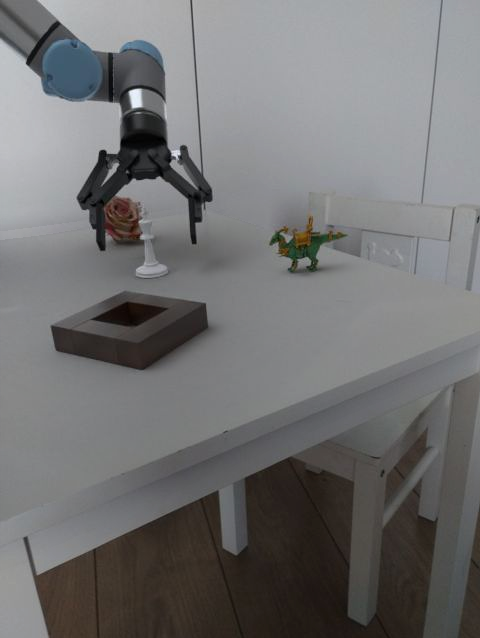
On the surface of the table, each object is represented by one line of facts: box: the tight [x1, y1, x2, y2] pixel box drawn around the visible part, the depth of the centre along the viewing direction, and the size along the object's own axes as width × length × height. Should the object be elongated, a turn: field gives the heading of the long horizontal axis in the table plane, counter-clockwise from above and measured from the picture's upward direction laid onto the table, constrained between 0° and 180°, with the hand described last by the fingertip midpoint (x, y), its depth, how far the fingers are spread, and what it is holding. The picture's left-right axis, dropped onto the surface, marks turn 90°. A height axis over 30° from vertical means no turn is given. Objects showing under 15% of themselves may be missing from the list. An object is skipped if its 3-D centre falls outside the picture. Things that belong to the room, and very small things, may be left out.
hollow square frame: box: [50, 290, 209, 371], centre depth 64 cm, size 12×12×3 cm
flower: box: [94, 195, 143, 246], centre depth 107 cm, size 10×9×8 cm
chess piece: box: [135, 206, 169, 279], centre depth 86 cm, size 5×5×10 cm
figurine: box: [268, 214, 349, 274], centre depth 84 cm, size 3×12×8 cm, turn 100°
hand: (147, 243), depth 84 cm, fingers open, 13 cm apart
